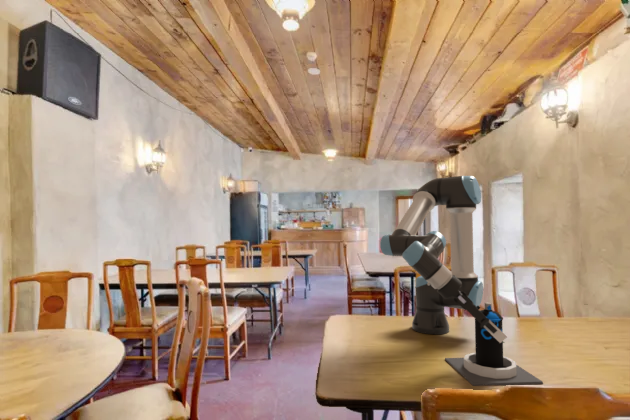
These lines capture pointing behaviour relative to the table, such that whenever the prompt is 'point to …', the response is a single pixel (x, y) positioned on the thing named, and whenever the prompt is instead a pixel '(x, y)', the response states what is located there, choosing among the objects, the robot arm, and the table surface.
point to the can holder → (491, 372)
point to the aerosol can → (488, 341)
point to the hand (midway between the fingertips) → (497, 333)
